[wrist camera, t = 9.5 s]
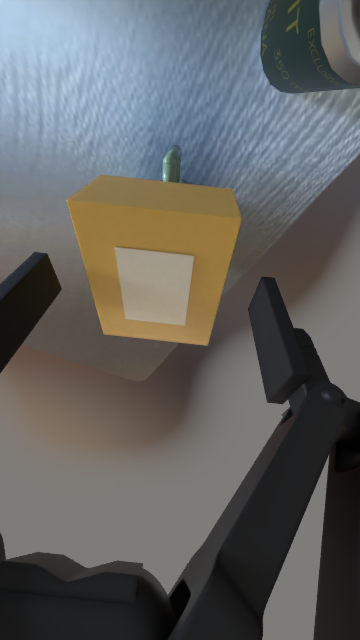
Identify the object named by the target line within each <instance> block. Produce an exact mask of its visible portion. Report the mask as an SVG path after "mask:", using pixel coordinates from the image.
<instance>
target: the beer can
mask: <svg viewBox="0 0 360 640" xmlns="http://www.w3.org/2000/svg"><path fill="white" fill-rule="evenodd" d="M260 55H261V60H262V65H263V70H264V73H265V75H266V77H267V79H268V80H269V82H270V84H271V85H272V86H274V87H275V88H276V89H278V90H279V91H280V92H286V93H303V92H316V91H328V90H340V89H352V88H360V0H271V2H270V4H269V7H268V9H267V12H266V16H265V20H264V24H263V29H262V33H261V54H260Z"/></svg>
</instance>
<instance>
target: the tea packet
mask: <svg viewBox="0 0 360 640" xmlns="http://www.w3.org/2000/svg"><path fill="white" fill-rule="evenodd" d="M67 203H68V207H69V210H70V214H71V218H72V221H73V225H74V228H75V232H76V236H77V239H78V243H79V247H80V250H81V254H82V257H83V261H84V265H85V268H86V272H87V275H88V279H89V283H90V286H91V290H92V294H93V297H94V301H95V304H96V308H97V312H98V315H99V319H100V322H101V326H102V330H103V333H104V334H107V335H116V336H125V337H134V338H143V339H153V340H162V341H171V342H180V343H189V344H198V345H208V342H209V338H210V335H211V331H212V328H213V324H214V320H215V317H216V313H217V309H218V306H219V302H220V298H221V295H222V291H223V287H224V284H225V280H226V276H227V273H228V269H229V266H230V262H231V258H232V255H233V251H234V247H235V244H236V240H237V236H238V233H239V229H240V225H241V222H242V217H241V214H240V210H239V207H238V204H237V201H236V198H235V195H234V192H233V189H229V188H220V187H210V186H201V185H192V184H183V183H174V182H164V181H155V180H146V179H137V178H127V177H118V176H109V175H100V176H99V177H97V178H96V179H95V180H93V181H92V182H90V183H89V184H88V185H86V186H85V187H83V188H82V189H81V190H79V191H78V192H77V193H75V194H74V195H72V196H71V197H70V198H68V199H67Z"/></svg>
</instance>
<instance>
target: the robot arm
mask: <svg viewBox="0 0 360 640" xmlns="http://www.w3.org/2000/svg"><path fill="white" fill-rule="evenodd" d="M61 290H62V288H61V286H60V283H59V281H58V278H57V276H56V274H55V271H54V269H53V266H52V264H51V261H50V259H49V257H48V254H47V253H38V252H34V253H33V254H32V255H31V256H30V257H29V258H28V259H27V260H26V261H25V262H23V263H22V264H21V265H20V266H19V267H18V268H17V269H16V270H15V271H14V272H13V273H12V274H11V275H9V276H8V277H7V278H6V279H5V280H4V281H3V282H2V283H1V284H0V373H1V372H2V370H3V369H4V368H5V366H6V365H7V363H8V362H9V361H10V359H11V357H13V355H14V354H15V352H16V351H17V350H18V348H19V347H20V346H21V344H22V343H23V342H24V340H25V339H26V338H27V336H28V335H29V333H30V332H31V331H32V329H33V328H34V327H35V325H36V324H37V323H38V321H39V320H40V318H41V317H42V316H43V314H44V313H45V312H46V310H47V309H48V308H49V306H50V305H51V303H52V302H53V301H54V299H55V298H56V297H57V295H58V294H59V293H60V291H61ZM248 311H249V316H250V321H251V326H252V331H253V336H254V341H255V346H256V350H257V355H258V360H259V365H260V370H261V375H262V379H263V385H264V389H265V394H266V399H267V402H268V403H277V404H283V403H284V402H286V401H287V400H289V404H290V408H289V409H287V410H286V411H285V412H284V413H283V414H282V416H283V418H282V419H281V421H280V423H279V424H278V426H277V427H276V429H275V430H274V432H273V434H272V435H271V437H270V439H269V440H268V442H267V443H266V445H265V446H264V448H263V450H262V451H261V453H260V454H259V456H258V458H257V459H256V461H255V462H254V464H253V466H252V467H251V469H250V471H249V472H248V473H247V475H246V477H245V479H244V480H243V481H242V483H241V485H240V486H239V488H238V489H237V491H236V493H235V494H234V496H233V497H232V499H231V501H230V502H229V504H228V505H227V507H226V509H225V510H224V512H223V513H222V515H221V517H220V518H219V520H218V521H217V523H216V524H215V526H214V528H213V529H212V531H211V533H210V534H209V536H208V537H207V539H206V541H205V542H204V543H203V545H202V546H201V548H200V549H199V550H198V551H197V552H196V553H195V554H194V556H193V557H192V558H191V560H190V561H189V563H188V564H187V566H186V567H185V569H184V571H183V572H182V574H181V575H180V577H179V578H178V580H177V582H176V583H175V585H174V586H173V588H172V589H171V591H170V593H169V594H168V595H167V593H166V591H165V590H164V588H163V587H162V585H161V584H160V582H159V581H158V580H157V579H156V578H155V577H154V576H153V575H152V574H151V573H150V572H148V571H147V570H145V569H143V568H142V566H143V563H133V562H124V561H114V562H111V563H107V564H103V565H100V566H96V567H92V568H85V567H84V566H82V565H80V564H78V563H77V562H75V561H73V560H71V559H70V558H68V557H66V556H64V555H60V554H50V553H40V552H37V553H32V554H28V555H24V556H19V557H16V558H11V559H7V560H6V557H5V550H4V543H3V538H2V536H1V534H0V640H262V636H263V614H264V610H265V607H266V604H267V602H268V599H269V597H270V594H271V592H272V590H273V587H274V585H275V582H276V580H277V578H278V575H279V573H280V571H281V568H282V566H283V563H284V561H285V559H286V556H287V554H288V551H289V549H290V547H291V544H292V542H293V539H294V537H295V534H296V532H297V530H298V527H299V525H300V523H301V520H302V518H303V515H304V513H305V511H306V508H307V506H308V503H309V501H310V498H311V496H312V494H313V491H314V489H315V487H316V484H317V482H318V479H319V477H320V475H321V472H322V470H323V467H324V465H325V463H326V460H327V458H328V455H329V466H328V477H327V488H326V500H325V512H324V523H323V535H322V546H321V558H320V570H319V581H318V593H317V604H316V616H315V628H314V639H313V640H360V403H359V402H357V401H354V400H352V399H349V398H347V397H346V395H345V394H344V392H343V391H342V390H341V389H340V388H338V387H337V386H336V385H334V384H332V383H331V382H330V381H329V378H328V376H327V374H326V372H325V369H324V367H323V365H322V362H321V360H320V358H319V356H318V355H317V351H316V349H315V347H314V344H313V342H312V340H311V337H310V336H309V335H308V334H307V333H306V332H305V331H304V330H303V329H298V328H293V325H292V323H291V320H290V318H289V315H288V312H287V310H286V307H285V305H284V302H283V300H282V297H281V294H280V292H279V289H278V286H277V284H276V281H275V278H271V277H261V280H260V282H259V284H258V287H257V289H256V292H255V294H254V296H253V299H252V301H251V303H250V306H249V308H248ZM329 453H330V454H329Z"/></svg>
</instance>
